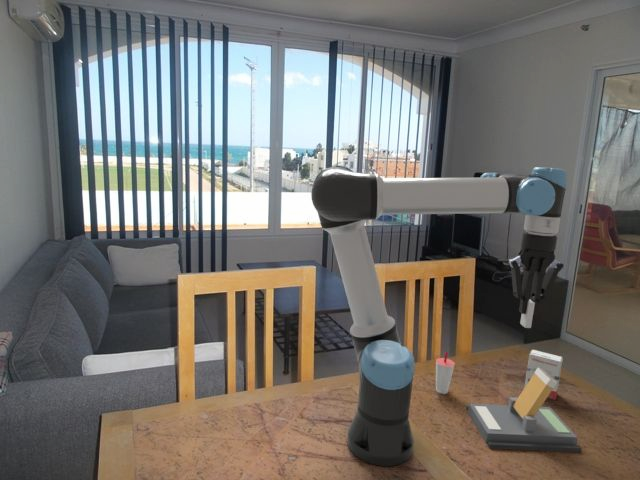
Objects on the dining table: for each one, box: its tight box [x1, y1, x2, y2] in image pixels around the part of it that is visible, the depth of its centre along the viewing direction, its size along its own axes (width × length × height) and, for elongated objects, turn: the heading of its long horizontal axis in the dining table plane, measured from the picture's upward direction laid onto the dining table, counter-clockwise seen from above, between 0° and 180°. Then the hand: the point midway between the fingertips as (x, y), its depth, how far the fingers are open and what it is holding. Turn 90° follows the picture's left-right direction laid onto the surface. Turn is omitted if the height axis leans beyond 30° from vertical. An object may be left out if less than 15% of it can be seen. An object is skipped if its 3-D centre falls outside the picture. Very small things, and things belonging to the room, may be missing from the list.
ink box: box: [523, 349, 563, 400], centre depth 134 cm, size 9×5×12 cm, turn 58°
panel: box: [467, 396, 578, 445], centre depth 116 cm, size 22×13×6 cm, turn 91°
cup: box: [435, 351, 456, 395], centre depth 131 cm, size 5×5×12 cm
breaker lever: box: [513, 368, 557, 419], centre depth 115 cm, size 2×6×13 cm, turn 1°
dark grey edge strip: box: [487, 442, 582, 453], centre depth 109 cm, size 22×1×1 cm, turn 91°
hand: (525, 325), depth 114 cm, fingers closed
